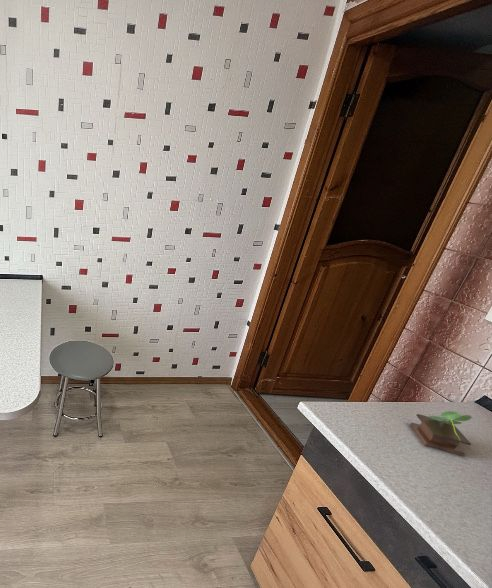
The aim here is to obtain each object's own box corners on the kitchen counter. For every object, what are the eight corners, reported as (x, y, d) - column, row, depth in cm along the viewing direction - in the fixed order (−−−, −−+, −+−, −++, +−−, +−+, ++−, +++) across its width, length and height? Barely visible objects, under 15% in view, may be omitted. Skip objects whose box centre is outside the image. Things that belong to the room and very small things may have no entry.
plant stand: (443, 434, 94) (452, 422, 93) (462, 456, 87) (471, 443, 86) (409, 425, 97) (416, 413, 95) (424, 445, 90) (432, 433, 88)
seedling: (439, 444, 91) (432, 421, 95) (483, 446, 85) (474, 421, 89) (432, 435, 88) (425, 411, 92) (477, 436, 82) (468, 410, 86)
